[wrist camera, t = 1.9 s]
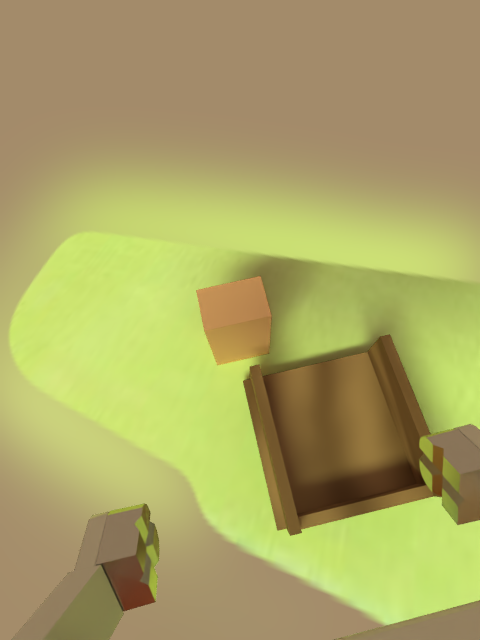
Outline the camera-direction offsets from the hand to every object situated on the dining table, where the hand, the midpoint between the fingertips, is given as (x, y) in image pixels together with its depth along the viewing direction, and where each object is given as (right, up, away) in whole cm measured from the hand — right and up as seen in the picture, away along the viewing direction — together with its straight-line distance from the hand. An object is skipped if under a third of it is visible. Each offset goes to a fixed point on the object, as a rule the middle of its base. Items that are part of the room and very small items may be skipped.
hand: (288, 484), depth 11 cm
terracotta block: (-1, +3, +25) cm, 26 cm away
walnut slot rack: (+7, -5, +22) cm, 23 cm away
